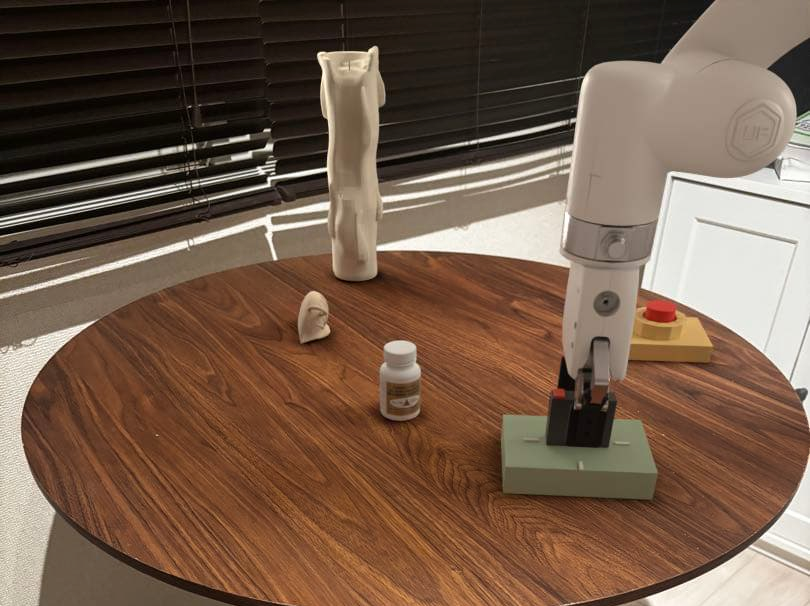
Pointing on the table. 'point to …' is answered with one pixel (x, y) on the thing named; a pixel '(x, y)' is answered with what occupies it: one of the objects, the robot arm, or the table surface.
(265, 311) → the table surface
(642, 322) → the button block
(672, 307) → the button
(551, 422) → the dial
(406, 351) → the pill bottle
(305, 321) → the decorative ornament
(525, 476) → the block
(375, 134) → the vase
